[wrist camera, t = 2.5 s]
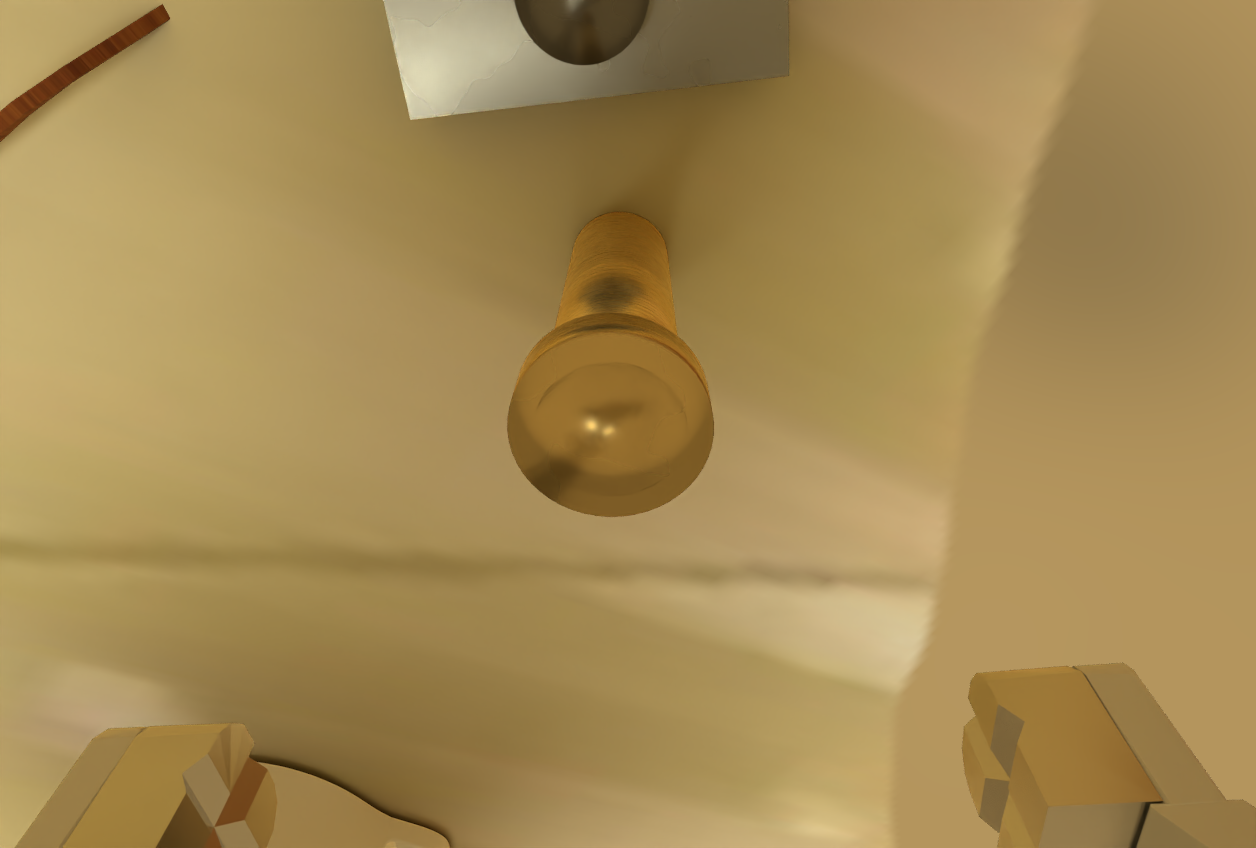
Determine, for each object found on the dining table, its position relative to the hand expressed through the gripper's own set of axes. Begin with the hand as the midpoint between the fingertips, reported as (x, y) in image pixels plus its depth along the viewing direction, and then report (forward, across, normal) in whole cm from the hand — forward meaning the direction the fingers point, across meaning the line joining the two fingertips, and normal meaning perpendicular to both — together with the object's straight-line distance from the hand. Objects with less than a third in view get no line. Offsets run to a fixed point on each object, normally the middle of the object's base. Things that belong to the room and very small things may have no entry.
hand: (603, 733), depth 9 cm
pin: (+18, 0, 0) cm, 18 cm away
